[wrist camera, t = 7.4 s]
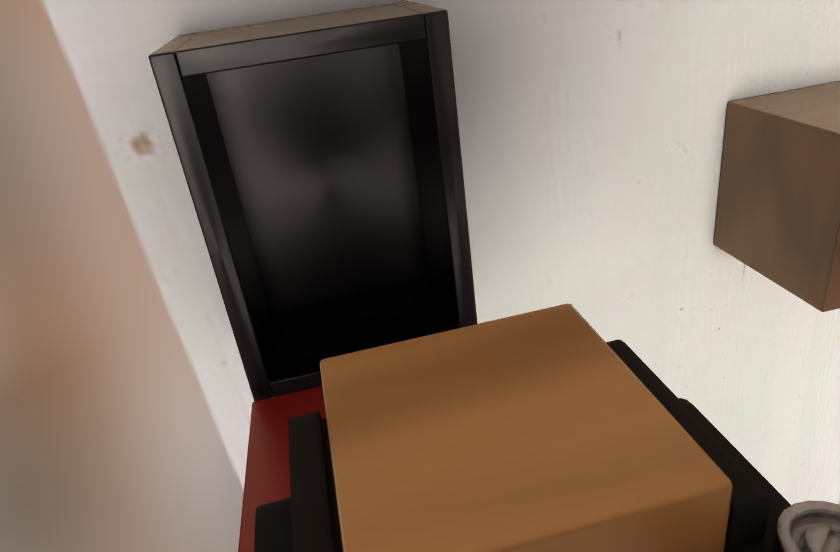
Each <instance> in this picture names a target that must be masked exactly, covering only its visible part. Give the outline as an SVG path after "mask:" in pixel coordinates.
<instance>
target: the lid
mask: <svg viewBox="0 0 840 552" xmlns="http://www.w3.org/2000/svg"><path fill="white" fill-rule="evenodd" d="M317 411H319V412H320V414H321V418H322V419H323V418H326V410H325V402H324V394H323V386H322V387H318V388H313V389H309V390H304V391H300V392H296V393H291V394H287V395H282V396H278V397H274V398H269V399H265V400H260V401H256V402H253V403H252V412H251V423H250V433H249V444H248V454H247V465H246V475H245V486H244V496H243V507H242V517H241V527H240V539H239V548H238V552H254V539H255V514H256V508H257V506H259V505H263V504H266V503H270V502H274V501H278V500H282V499H286V498H290V497H291V489H290V463H289V436H288V419H289V418H291V417H296V416H300V415H304V414H308V413H312V412H317Z"/></svg>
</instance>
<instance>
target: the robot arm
mask: <svg viewBox="0 0 840 552" xmlns="http://www.w3.org/2000/svg"><path fill="white" fill-rule="evenodd" d="M606 343H607V345H608V346H609V347H610V348H611V349H612V350H613V351H614V352H615V353H616V354H617V356H618V357H619V358H620V359H621V360H622V361H623V362H624V363H625V364H626V365H627V367H628V368H629V369H630V370H631V371H632V372H633V373H634V374H635V375H636V377H637V378H638V379H639V380H640V381H641V382H642V383H643V384H644V385H645V386H646V388H647V389H648V390H649V391H650V392H651V393H652V394H653V395H654V396H655V397H656V399H657V400H658V401H659V402H660V403H661V404H662V405H663V406H664V407H665V409H666V410H667V411H668V412H669V413H670V414H671V415H672V416H673V417H674V418H675V420H676V421H677V422H678V423H679V424H680V425H681V426H682V427H683V428H684V429H685V431H686V432H687V433H688V434H689V435H690V436H691V437H692V438H693V439H694V440H695V442H696V443H697V444H698V445H699V446H700V447H701V448H702V449H703V450H704V452H705V453H706V454H707V455H708V456H709V457H710V458H711V459H712V460H713V461H714V463H715V464H716V465H717V466H718V467H719V468H720V469H721V470H722V471H723V472H724V474H725V475H726V476H727V477H728V478H729V479H730V481H731V483H732V486H733V487H732V495H731V502H730V510H729V517H728V525H727V532H726V540H725V547H724V552H840V505H838V504H834V503H830V502H826V501H805V502H800V503H795V504H793V505H792V506H791V505H790V503H789V502H788V501H787V500H786V499H785V498H784V497H783V496H782V495H781V494H780V493H779V492H778V491H777V490H776V489H775V488H774V487H773V486H772V485H771V484H770V483H769V482H768V481H767V480H766V479H765V478H764V477H763V476H762V475H761V474H760V473H759V472H758V471H757V470H756V469H755V468H754V467H753V466H752V465H751V464H750V463H749V462H748V461H747V460H746V459H745V458H744V456H743V455H742V454H741V453H740V452H739V451H738V450H737V449H736V448H735V447H734V446H733V445H732V444H731V443H730V442H729V441H728V440H727V439H726V438H725V437H724V436H723V435H722V434H721V433H720V432H719V431H718V430H717V429H716V428H715V427H714V426H713V425H712V424H711V423H710V422H709V421H708V420H707V419H706V418H705V417H704V416H703V415H702V414H701V413H700V412H699V411H698V409H697V408H696V407H695V406H694V405H692V404H691V403H690V402H689V401H687V400H685V399H682V398H679V399H678V398H677V397H676V396H675V395H674V394H673V393H672V391H671V390H670V389H669V388H668V387H667V386H666V385H665V384H664V383H663V382H662V381H661V380H660V379H659V378H658V377H657V376H656V375H655V374H654V373H653V372H652V371H651V370H650V369H649V368H648V366H647V365H646V364H645V363H644V362H643V361H642V360H641V359H640V358H639V357H638V356H637V355H636V354H635V353H634V352H633V351H632V350H631V349H630V348H629V347H628V346H627V345H626V344H625V343H624V342H623V341H622V340H615V341H610V342H606ZM288 436H289V463H290V489H291V497H290V498H286V499H282V500H278V501H274V502H270V503H266V504H263V505H259V506H257V508H256V514H255V539H254V552H343V547H342V539H341V531H340V523H339V515H338V507H337V499H336V491H335V483H334V475H333V467H332V459H331V450H330V442H329V434H328V426H327V418H323V419H322V418H321V414H320V412H319V411H317V412H312V413H308V414H304V415H300V416H296V417H291V418H289V419H288Z"/></svg>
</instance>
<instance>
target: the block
mask: <svg viewBox="0 0 840 552" xmlns="http://www.w3.org/2000/svg"><path fill="white" fill-rule="evenodd" d="M320 370H321V378H322V386H323V394H324V402H325V410H326V418H327V426H328V434H329V442H330V450H331V459H332V467H333V475H334V483H335V491H336V499H337V507H338V515H339V523H340V531H341V539H342V547H343V552H724V547H725V540H726V532H727V525H728V517H729V510H730V502H731V495H732V487H733V486H732V483H731V481H730V479H729V478H728V477H727V476H726V475H725V474H724V472H723V471H722V470H721V469H720V468H719V467H718V466H717V465H716V464H715V463H714V461H713V460H712V459H711V458H710V457H709V456H708V455H707V454H706V453H705V452H704V450H703V449H702V448H701V447H700V446H699V445H698V444H697V443H696V442H695V440H694V439H693V438H692V437H691V436H690V435H689V434H688V433H687V432H686V431H685V429H684V428H683V427H682V426H681V425H680V424H679V423H678V422H677V421H676V420H675V418H674V417H673V416H672V415H671V414H670V413H669V412H668V411H667V410H666V409H665V407H664V406H663V405H662V404H661V403H660V402H659V401H658V400H657V399H656V397H655V396H654V395H653V394H652V393H651V392H650V391H649V390H648V389H647V388H646V386H645V385H644V384H643V383H642V382H641V381H640V380H639V379H638V378H637V377H636V375H635V374H634V373H633V372H632V371H631V370H630V369H629V368H628V367H627V365H626V364H625V363H624V362H623V361H622V360H621V359H620V358H619V357H618V356H617V354H616V353H615V352H614V351H613V350H612V349H611V348H610V347H609V346H608V345H607V343H606V342H605V341H604V340H603V339H602V338H601V337H600V336H599V335H598V333H597V332H596V331H595V330H594V329H593V328H592V327H591V326H590V325H589V324H588V322H587V321H586V320H585V319H584V318H583V317H582V316H581V315H580V314H579V313H578V311H577V310H576V309H575V308H574V307H573V306H572V305H571V304H563V305H559V306H555V307H550V308H546V309H541V310H537V311H533V312H528V313H524V314H519V315H515V316H511V317H506V318H502V319H497V320H493V321H489V322H484V323H480V324H475V325H471V326H467V327H462V328H458V329H453V330H449V331H445V332H440V333H436V334H431V335H427V336H423V337H418V338H414V339H409V340H405V341H401V342H396V343H392V344H387V345H383V346H379V347H374V348H370V349H366V350H361V351H357V352H352V353H348V354H344V355H339V356H335V357H330V358H326V359H323V360H321V362H320Z"/></svg>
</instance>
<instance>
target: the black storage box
mask: <svg viewBox="0 0 840 552" xmlns="http://www.w3.org/2000/svg"><path fill="white" fill-rule="evenodd" d="M149 60H150V64H151V67H152V70H153V73H154V77H155V80H156V83H157V86H158V90H159V93H160V96H161V99H162V103H163V106H164V109H165V112H166V116H167V119H168V122H169V125H170V129H171V132H172V135H173V138H174V142H175V145H176V148H177V151H178V155H179V158H180V161H181V164H182V168H183V171H184V174H185V177H186V181H187V184H188V187H189V190H190V194H191V197H192V200H193V203H194V207H195V210H196V213H197V216H198V220H199V223H200V226H201V229H202V233H203V236H204V239H205V242H206V246H207V249H208V252H209V255H210V259H211V262H212V265H213V268H214V272H215V275H216V278H217V281H218V285H219V288H220V291H221V294H222V298H223V301H224V304H225V307H226V311H227V314H228V317H229V320H230V324H231V327H232V330H233V333H234V337H235V340H236V343H237V346H238V350H239V353H240V356H241V359H242V363H243V366H244V369H245V372H246V376H247V379H248V382H249V385H250V389H251V392H252V395H253V398H254V401H255V402H256V401H260V400H265V399H269V398H274V397H278V396H282V395H287V394H291V393H296V392H300V391H304V390H309V389H313V388H318V387H322V378H321V370H320V362H321V360H323V359H326V358H330V357H335V356H339V355H344V354H348V353H352V352H357V351H361V350H366V349H370V348H374V347H379V346H383V345H387V344H392V343H396V342H401V341H405V340H409V339H414V338H418V337H423V336H427V335H431V334H436V333H440V332H445V331H449V330H453V329H458V328H462V327H467V326H471V325H475V324H477V314H476V304H475V293H474V283H473V273H472V262H471V252H470V241H469V231H468V220H467V210H466V200H465V189H464V179H463V168H462V158H461V148H460V137H459V127H458V116H457V106H456V95H455V85H454V75H453V64H452V54H451V43H450V33H449V22H448V12H447V10H444V9H439V8H435V7H430V6H426V5H422V4H417V3H413V2H408V1H405V2H399V3H392V4H385V5H379V6H372V7H365V8H359V9H352V10H345V11H339V12H332V13H325V14H318V15H312V16H305V17H298V18H292V19H285V20H278V21H272V22H265V23H258V24H252V25H245V26H238V27H232V28H225V29H218V30H212V31H205V32H198V33H192V34H185V35H179V36H177V37H176V38H174V39H173V40H171V41H170V42H168V43H167V44H165V45H164V46H163V47H161V48H160V49H158V50H157V51H155V52H154V53H152V54H151V55H149Z"/></svg>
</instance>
